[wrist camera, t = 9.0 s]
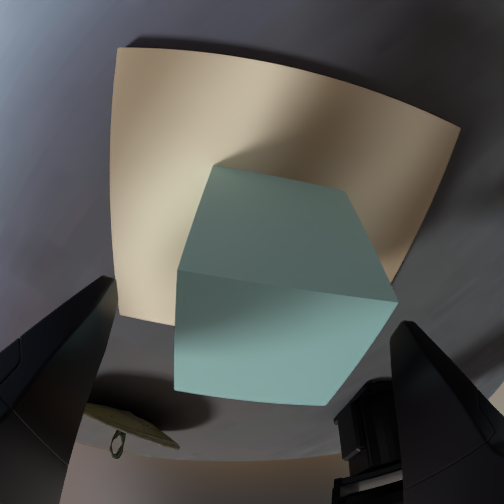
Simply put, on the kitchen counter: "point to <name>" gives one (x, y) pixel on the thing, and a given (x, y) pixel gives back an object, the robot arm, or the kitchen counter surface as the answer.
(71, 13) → the kitchen counter surface
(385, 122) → the pad
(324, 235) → the teal block
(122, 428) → the lid
